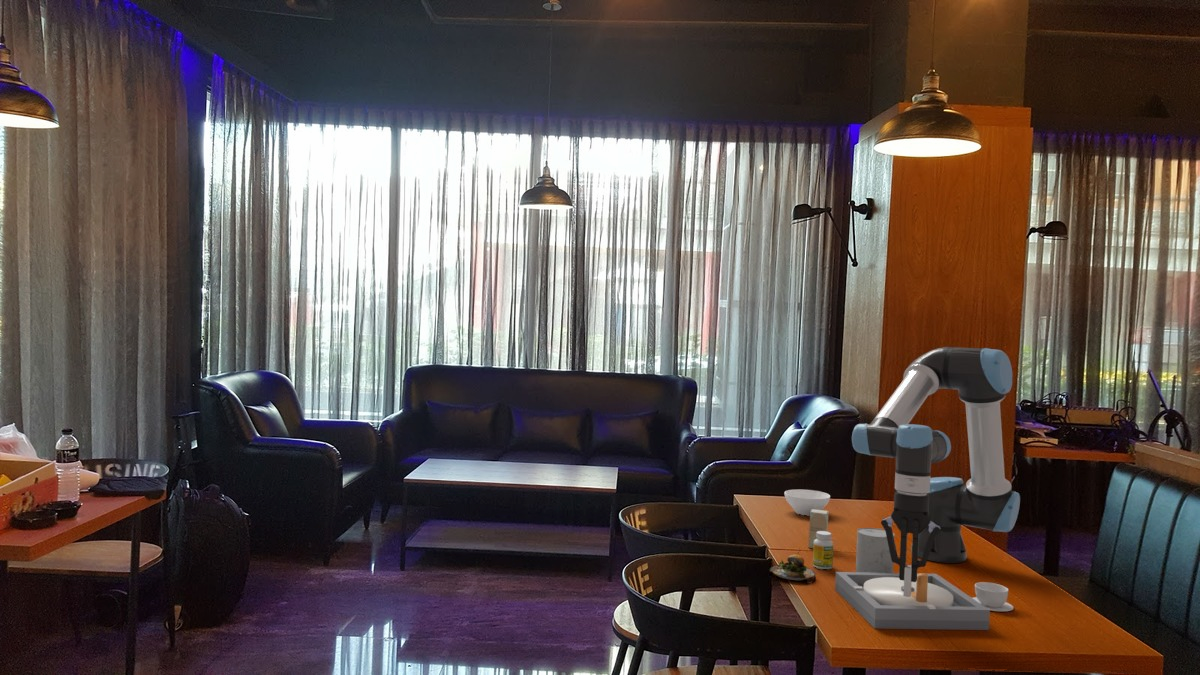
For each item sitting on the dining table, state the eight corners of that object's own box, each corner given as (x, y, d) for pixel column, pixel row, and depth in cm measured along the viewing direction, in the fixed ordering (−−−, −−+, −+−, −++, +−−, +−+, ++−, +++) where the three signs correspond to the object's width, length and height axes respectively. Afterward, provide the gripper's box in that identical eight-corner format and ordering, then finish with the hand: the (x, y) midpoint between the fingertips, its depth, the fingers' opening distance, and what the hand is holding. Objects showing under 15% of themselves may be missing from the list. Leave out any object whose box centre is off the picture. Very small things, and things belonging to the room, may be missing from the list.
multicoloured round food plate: (761, 572, 217) (762, 545, 217) (797, 569, 222) (798, 542, 222) (788, 586, 206) (789, 557, 206) (825, 582, 211) (826, 554, 211)
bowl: (785, 517, 281) (785, 497, 281) (782, 507, 297) (783, 488, 297) (832, 520, 279) (832, 500, 279) (826, 510, 295) (827, 491, 294)
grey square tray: (935, 591, 205) (935, 572, 205) (988, 630, 179) (989, 608, 179) (835, 589, 204) (835, 570, 204) (874, 628, 178) (875, 606, 178)
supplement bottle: (821, 563, 227) (823, 529, 227) (836, 568, 223) (838, 533, 222) (808, 565, 224) (809, 531, 224) (823, 571, 220) (824, 536, 219)
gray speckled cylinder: (892, 575, 218) (894, 530, 218) (893, 585, 209) (895, 538, 209) (855, 570, 221) (857, 526, 221) (854, 580, 212) (856, 534, 212)
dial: (850, 584, 201) (851, 553, 201) (928, 585, 202) (929, 554, 202) (884, 613, 181) (885, 578, 181) (969, 614, 183) (971, 579, 182)
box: (807, 547, 243) (809, 511, 242) (809, 544, 247) (811, 508, 246) (825, 550, 241) (827, 513, 240) (827, 546, 245) (828, 510, 244)
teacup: (1011, 616, 189) (1012, 596, 189) (965, 607, 194) (966, 588, 194) (1015, 604, 198) (1016, 585, 198) (971, 596, 203) (971, 577, 203)
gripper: (880, 491, 184) (875, 594, 184) (941, 498, 178) (937, 604, 178) (883, 486, 190) (879, 585, 191) (943, 493, 185) (938, 595, 185)
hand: (907, 594), depth 184 cm, fingers closed
